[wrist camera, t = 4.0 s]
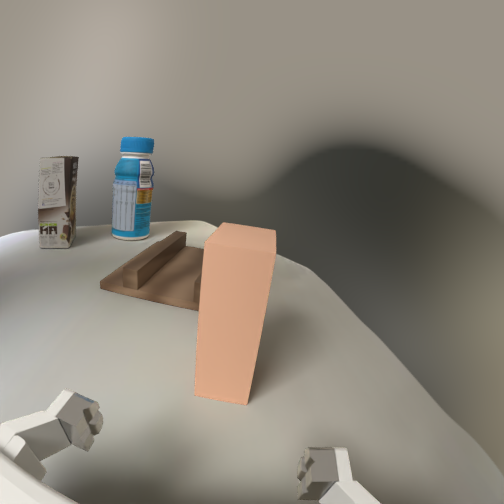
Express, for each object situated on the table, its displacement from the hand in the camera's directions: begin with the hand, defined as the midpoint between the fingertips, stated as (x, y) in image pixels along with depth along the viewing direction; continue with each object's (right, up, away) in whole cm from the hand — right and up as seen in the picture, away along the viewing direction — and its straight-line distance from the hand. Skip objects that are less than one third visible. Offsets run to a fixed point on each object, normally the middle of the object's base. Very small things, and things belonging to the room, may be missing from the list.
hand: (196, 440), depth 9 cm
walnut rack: (-7, +4, +33) cm, 34 cm away
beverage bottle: (-23, +10, +47) cm, 53 cm away
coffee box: (-35, +9, +37) cm, 51 cm away
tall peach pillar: (0, -3, +13) cm, 14 cm away
